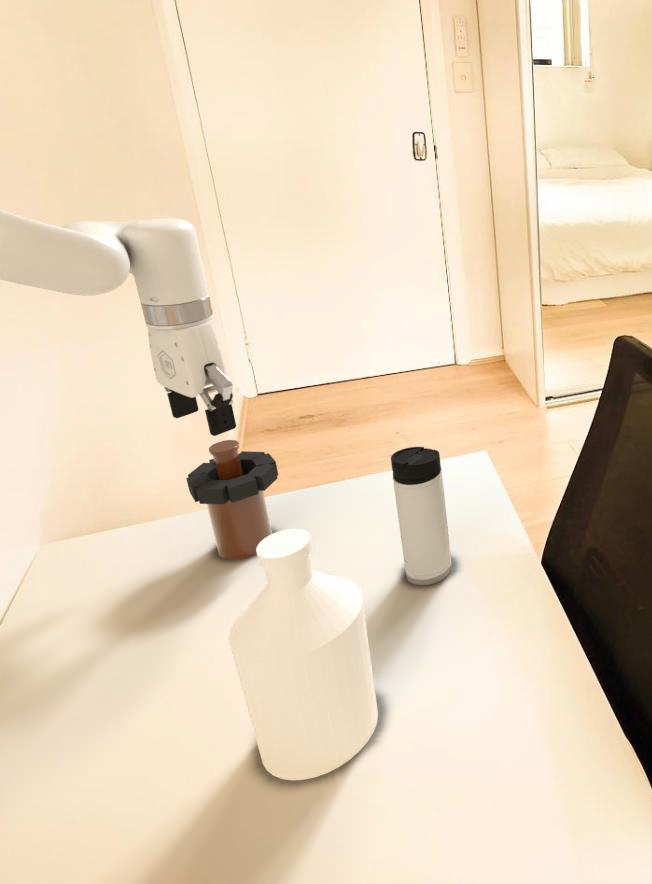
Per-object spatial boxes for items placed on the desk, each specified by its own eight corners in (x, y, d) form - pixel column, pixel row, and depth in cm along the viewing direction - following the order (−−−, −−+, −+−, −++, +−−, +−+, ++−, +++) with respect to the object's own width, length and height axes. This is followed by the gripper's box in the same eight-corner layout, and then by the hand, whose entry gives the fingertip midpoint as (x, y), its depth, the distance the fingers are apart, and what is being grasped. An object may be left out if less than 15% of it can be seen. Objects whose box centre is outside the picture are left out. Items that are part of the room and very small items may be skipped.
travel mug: (394, 581, 98) (377, 459, 91) (425, 553, 104) (411, 437, 97) (431, 592, 96) (416, 468, 89) (460, 563, 102) (449, 445, 95)
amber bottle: (235, 566, 100) (211, 463, 94) (208, 550, 103) (183, 449, 97) (283, 540, 106) (263, 442, 100) (256, 526, 109) (235, 429, 103)
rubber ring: (250, 505, 96) (246, 490, 95) (174, 503, 95) (170, 488, 95) (290, 465, 105) (288, 452, 105) (221, 464, 105) (218, 450, 104)
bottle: (248, 800, 68) (194, 597, 60) (268, 705, 78) (225, 520, 70) (379, 762, 72) (347, 567, 64) (382, 676, 83) (354, 498, 74)
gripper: (114, 306, 94) (143, 418, 100) (182, 330, 87) (210, 450, 92) (175, 293, 100) (199, 399, 106) (243, 315, 93) (266, 428, 99)
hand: (204, 422), depth 99 cm, fingers open, 9 cm apart
